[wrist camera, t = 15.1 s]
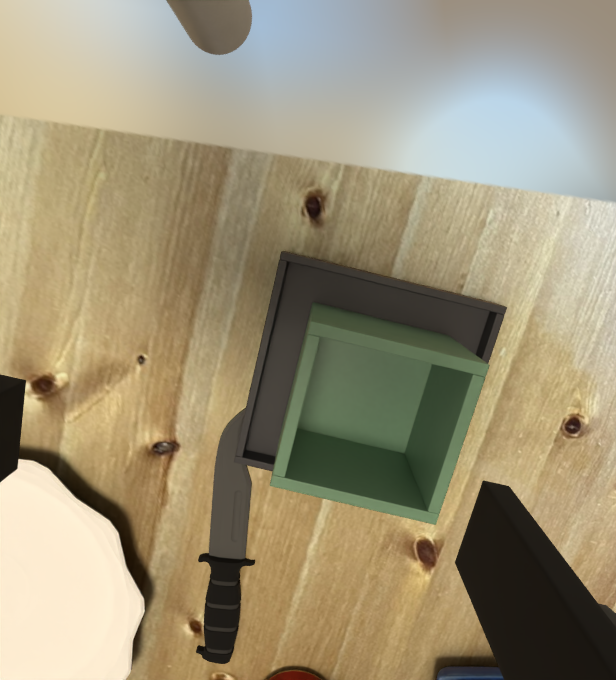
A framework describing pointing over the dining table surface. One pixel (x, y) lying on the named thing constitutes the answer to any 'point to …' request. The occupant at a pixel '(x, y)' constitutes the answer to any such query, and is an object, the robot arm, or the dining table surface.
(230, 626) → the knife
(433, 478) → the green tub
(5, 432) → the robot arm
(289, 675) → the soda can
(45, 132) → the dining table surface
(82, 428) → the dining table surface
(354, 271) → the tray
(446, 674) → the flower pot
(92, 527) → the plate
